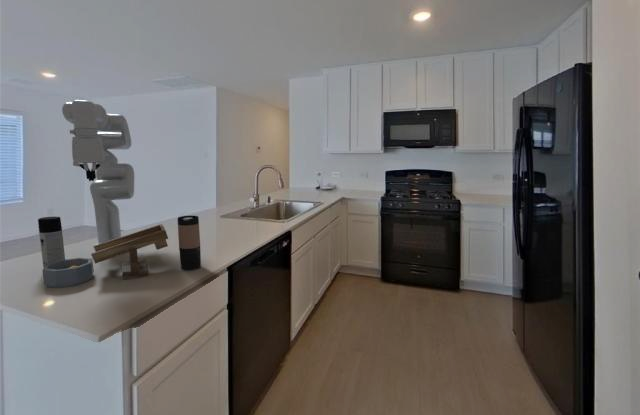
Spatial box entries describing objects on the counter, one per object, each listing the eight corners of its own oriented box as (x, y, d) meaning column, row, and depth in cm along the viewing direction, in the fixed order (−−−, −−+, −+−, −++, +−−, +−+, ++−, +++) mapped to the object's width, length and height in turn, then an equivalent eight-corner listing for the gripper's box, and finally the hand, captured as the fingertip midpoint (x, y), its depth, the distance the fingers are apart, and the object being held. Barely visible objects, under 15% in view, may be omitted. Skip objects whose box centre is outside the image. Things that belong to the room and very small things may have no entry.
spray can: (52, 266, 127) (45, 216, 124) (70, 265, 128) (64, 216, 124) (39, 272, 120) (32, 219, 117) (58, 271, 121) (52, 219, 118)
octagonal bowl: (50, 277, 115) (47, 261, 114) (94, 271, 122) (93, 255, 121) (42, 291, 104) (39, 273, 103) (92, 283, 111) (90, 266, 110)
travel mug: (193, 263, 132) (191, 214, 129) (205, 266, 128) (202, 216, 124) (176, 268, 126) (173, 217, 123) (188, 272, 121) (184, 220, 118)
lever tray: (101, 256, 129) (95, 240, 127) (165, 234, 140) (160, 220, 138) (98, 271, 112) (91, 254, 110) (171, 245, 123) (165, 229, 121)
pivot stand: (122, 265, 128) (120, 239, 127) (145, 262, 133) (143, 237, 131) (122, 280, 113) (119, 251, 112) (148, 276, 117) (145, 248, 116)
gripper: (60, 132, 119) (66, 182, 122) (109, 134, 127) (113, 180, 130) (64, 133, 126) (69, 180, 129) (109, 135, 133) (113, 179, 136)
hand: (91, 180), depth 129 cm, fingers closed
